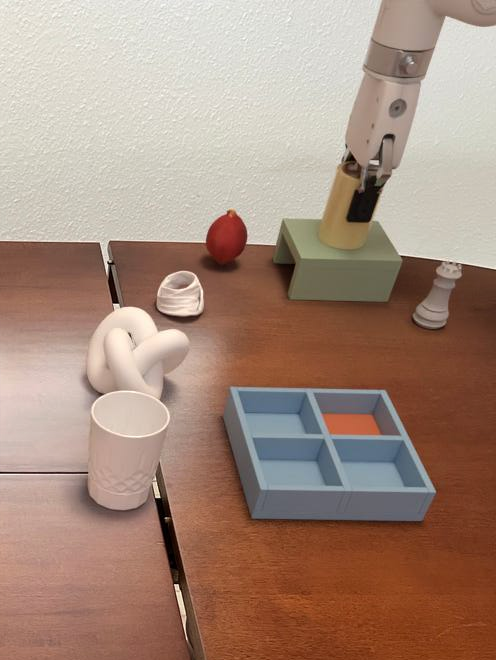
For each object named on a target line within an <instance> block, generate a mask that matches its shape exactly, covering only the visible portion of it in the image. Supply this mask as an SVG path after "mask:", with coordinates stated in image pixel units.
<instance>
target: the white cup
mask: <svg viewBox="0 0 496 660" xmlns="http://www.w3.org/2000/svg"><path fill="white" fill-rule="evenodd" d="M170 419H171V416H170V411H169V409H168V407H167V406H166V405H165V404H164V403H163V402H162V401H161V400H158V399H156V398H154V397H152V396H150V395H148V394H145V393H141V392H136V391H115V392H111V393H107V394H103V395H101V396H99V397H98V398H96V400H94V402H93V404H92V405H91V408H90V422H89V438H88V459H87V471H88V472H87V483H86V484H87V485H86V486H87V491H88V495H89V497H91V499H92V500H93V501H94V502H95V503H96V504H98V505H99V506H102V507H104V508H106V509H108V510H115V511H128V510H133V509H137V508H139V507H141V506H142V505H143V504H144V503H146V502H147V501H148V498H149V496H150V493H151V490H152V486H153V482H154V479H155V477H156V475H157V469H158V467H159V463H160V460H161V457H162V452H163V448H164V444H165V440H166V437H167V433H168V428H169V424H170Z"/></svg>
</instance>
